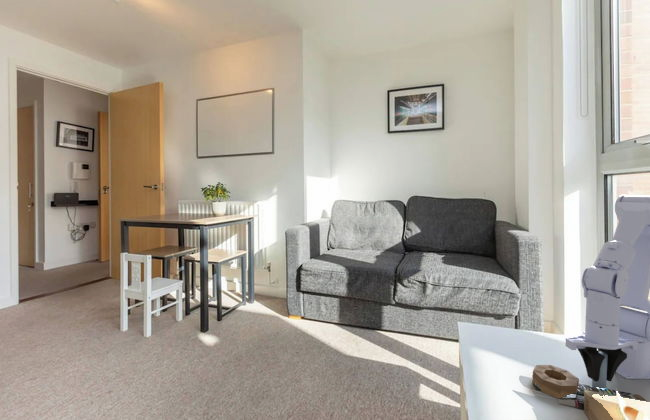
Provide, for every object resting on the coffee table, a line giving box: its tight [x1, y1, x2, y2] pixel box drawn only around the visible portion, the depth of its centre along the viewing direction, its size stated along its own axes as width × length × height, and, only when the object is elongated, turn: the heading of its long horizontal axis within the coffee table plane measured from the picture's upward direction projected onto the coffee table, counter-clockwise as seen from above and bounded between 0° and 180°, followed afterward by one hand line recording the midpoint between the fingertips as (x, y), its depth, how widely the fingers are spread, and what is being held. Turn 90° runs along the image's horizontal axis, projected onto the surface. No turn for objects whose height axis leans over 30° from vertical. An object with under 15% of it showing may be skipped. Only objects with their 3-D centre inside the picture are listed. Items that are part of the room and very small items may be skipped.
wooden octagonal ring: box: [532, 364, 580, 399], centre depth 72 cm, size 8×8×3 cm
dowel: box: [591, 351, 608, 389], centre depth 71 cm, size 2×2×8 cm
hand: (599, 378), depth 71 cm, fingers closed on dowel, 2 cm apart
